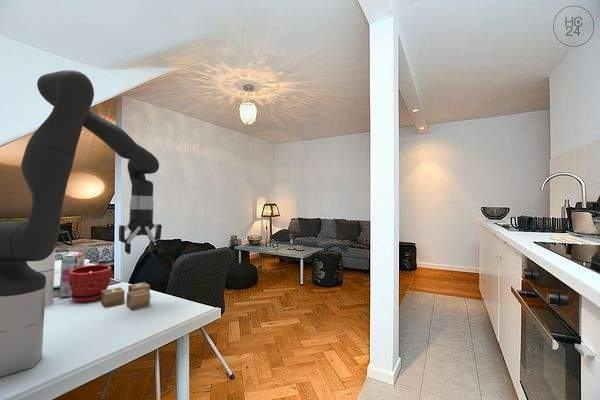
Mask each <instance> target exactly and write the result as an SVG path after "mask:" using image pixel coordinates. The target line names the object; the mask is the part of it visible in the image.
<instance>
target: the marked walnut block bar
mask: <svg viewBox="0 0 600 400" xmlns="http://www.w3.org/2000/svg"><path fill="white" fill-rule="evenodd" d="M100 304H101V306H103V308H104V309H107V308H110V307H111V308H112V307H116V306H120V305H124V304H125V290H124V289H123V288H122V287H121V286H120V287H114V288H107V290H102V292H101V299H100Z"/></svg>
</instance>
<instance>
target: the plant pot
mask: <svg viewBox="0 0 600 400" xmlns="http://www.w3.org/2000/svg"><path fill="white" fill-rule="evenodd" d="M111 278H112V266H111V265H108V264H90V265H84V266H83V267H78V268H75V269H72V270H71V271H69V285H70V289H71V291H72V293H73V295H72V296H71V297H70V298H71V299H72V300H73V301H74V302H75V303H76V302H78V303H87V302H94V301H97V300H101V292H102V290H107V289H108V287H109V286H110V283H111ZM77 281H78V282H77Z"/></svg>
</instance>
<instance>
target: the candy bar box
mask: <svg viewBox="0 0 600 400" xmlns="http://www.w3.org/2000/svg"><path fill="white" fill-rule="evenodd" d="M85 260H86V251H71V252H69V253H67V254H64V255H63V256H61V267H60V279H59V280H60V281H59V297H58V298H59V299H62V298H71V296H72V295H73V293H72V291H71V289H70V285H69V271H71V270H72V269H75V268H78V267H83V266H85ZM77 282H78V281H77Z"/></svg>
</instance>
